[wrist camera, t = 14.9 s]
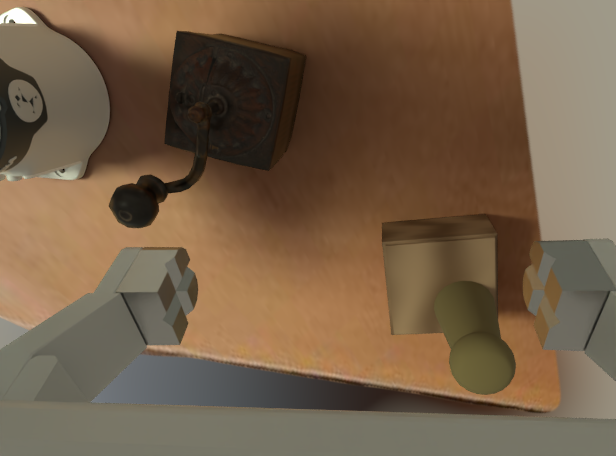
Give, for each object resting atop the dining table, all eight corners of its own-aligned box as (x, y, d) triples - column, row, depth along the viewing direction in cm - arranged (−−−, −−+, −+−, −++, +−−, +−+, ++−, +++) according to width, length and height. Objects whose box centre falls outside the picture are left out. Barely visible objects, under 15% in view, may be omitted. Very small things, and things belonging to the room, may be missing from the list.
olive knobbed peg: (507, 297, 46) (542, 367, 36) (473, 341, 48) (497, 418, 38) (454, 270, 46) (474, 331, 36) (422, 315, 48) (432, 385, 38)
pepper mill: (205, 29, 47) (107, 16, 30) (309, 54, 46) (267, 55, 30) (188, 172, 53) (98, 227, 36) (280, 196, 52) (231, 264, 36)
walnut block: (390, 308, 55) (391, 336, 50) (382, 222, 51) (382, 243, 46) (487, 303, 53) (499, 332, 47) (485, 213, 49) (498, 234, 44)
